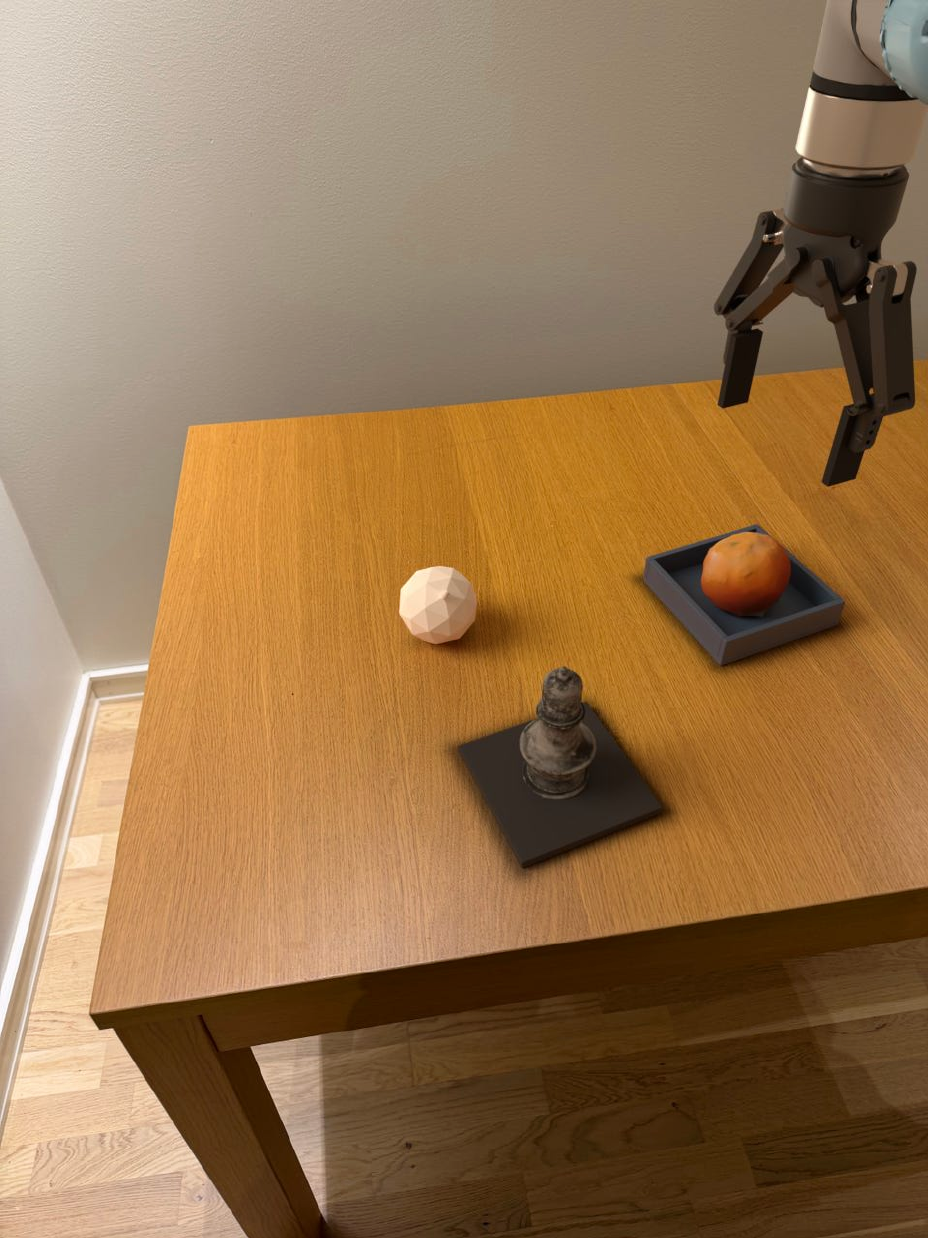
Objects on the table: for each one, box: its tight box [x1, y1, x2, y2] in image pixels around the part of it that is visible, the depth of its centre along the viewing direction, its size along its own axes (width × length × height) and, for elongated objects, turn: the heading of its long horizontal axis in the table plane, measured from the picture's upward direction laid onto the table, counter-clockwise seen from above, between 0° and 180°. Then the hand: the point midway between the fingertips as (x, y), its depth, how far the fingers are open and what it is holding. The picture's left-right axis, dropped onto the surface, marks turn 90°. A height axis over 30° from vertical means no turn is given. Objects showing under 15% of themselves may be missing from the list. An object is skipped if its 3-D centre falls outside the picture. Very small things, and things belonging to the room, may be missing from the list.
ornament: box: [398, 565, 478, 645], centre depth 81 cm, size 7×7×8 cm
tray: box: [642, 523, 847, 667], centre depth 85 cm, size 13×13×3 cm
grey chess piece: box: [520, 665, 596, 800], centre depth 66 cm, size 6×6×12 cm
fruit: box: [701, 532, 791, 618], centre depth 84 cm, size 8×8×8 cm
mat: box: [457, 701, 663, 869], centre depth 71 cm, size 12×12×1 cm
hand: (782, 440), depth 74 cm, fingers open, 13 cm apart
